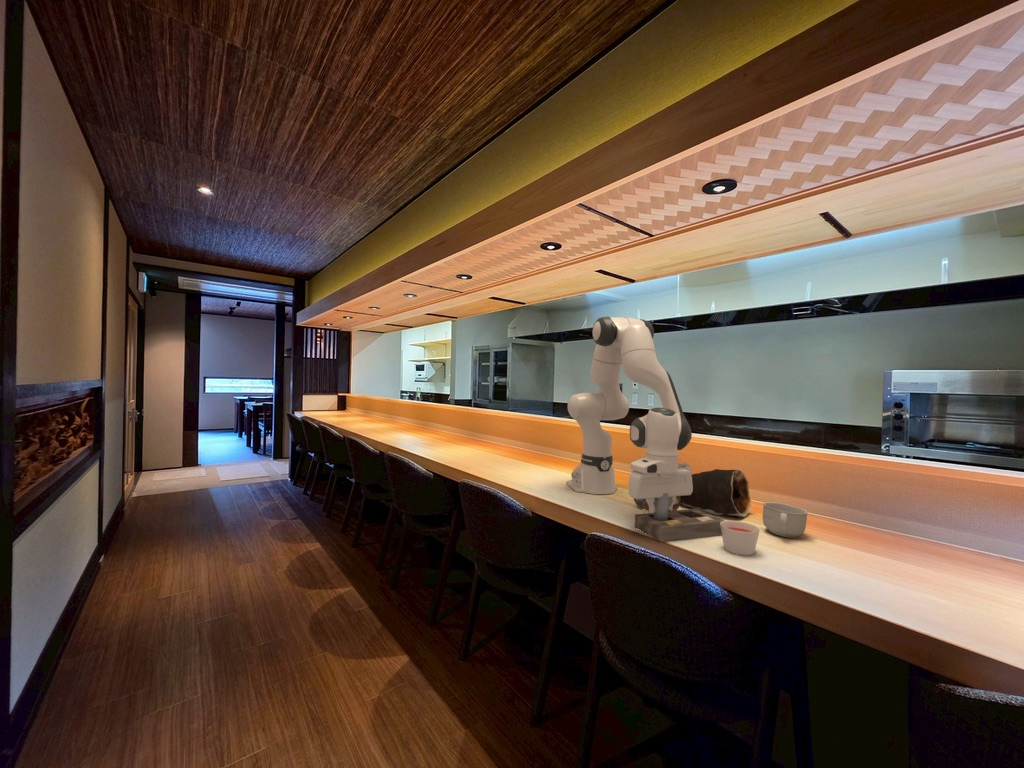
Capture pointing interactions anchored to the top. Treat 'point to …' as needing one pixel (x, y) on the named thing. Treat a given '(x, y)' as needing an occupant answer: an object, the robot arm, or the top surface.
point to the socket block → (679, 525)
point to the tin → (644, 505)
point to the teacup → (784, 519)
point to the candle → (739, 537)
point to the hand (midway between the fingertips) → (660, 511)
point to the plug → (661, 507)
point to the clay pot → (719, 493)
